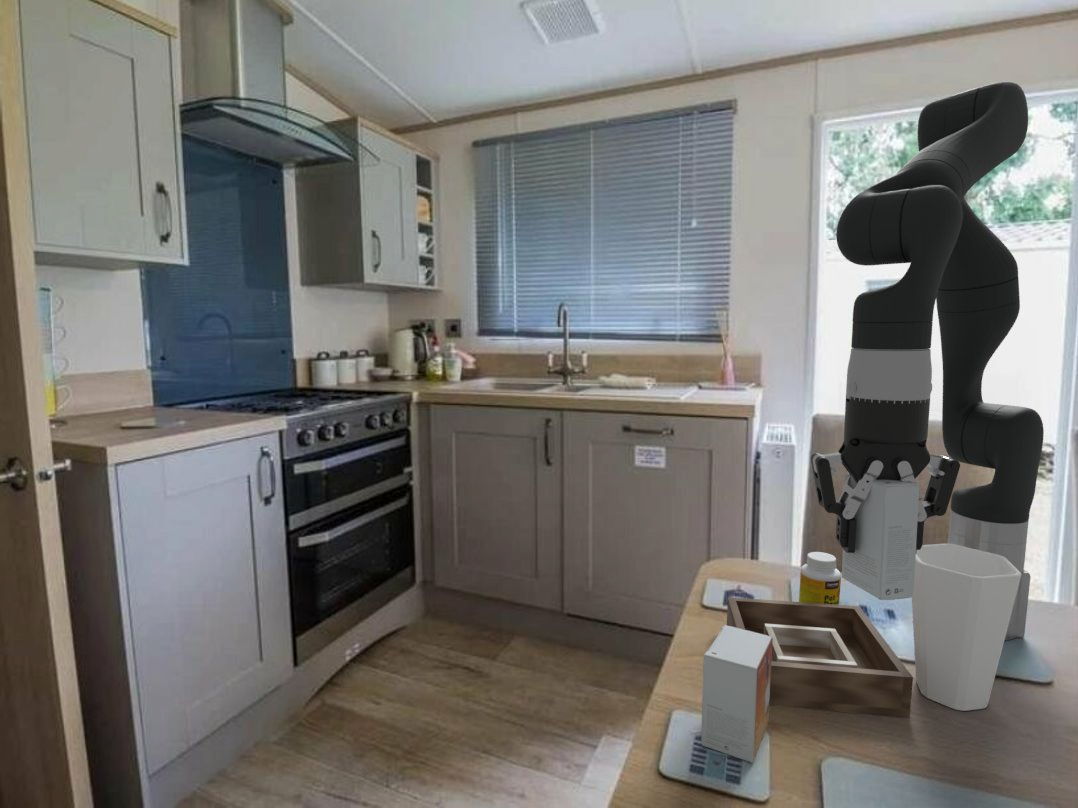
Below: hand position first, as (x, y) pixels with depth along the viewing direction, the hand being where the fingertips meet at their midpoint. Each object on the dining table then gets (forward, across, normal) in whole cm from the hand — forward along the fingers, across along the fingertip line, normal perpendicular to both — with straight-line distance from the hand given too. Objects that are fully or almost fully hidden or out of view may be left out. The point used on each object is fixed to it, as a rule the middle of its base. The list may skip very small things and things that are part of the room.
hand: (877, 550), depth 65 cm
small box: (+21, +14, +2) cm, 26 cm away
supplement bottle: (+21, -2, -26) cm, 34 cm away
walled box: (+21, +3, -12) cm, 25 cm away
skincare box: (+4, 0, 0) cm, 4 cm away
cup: (+21, -13, -9) cm, 27 cm away
